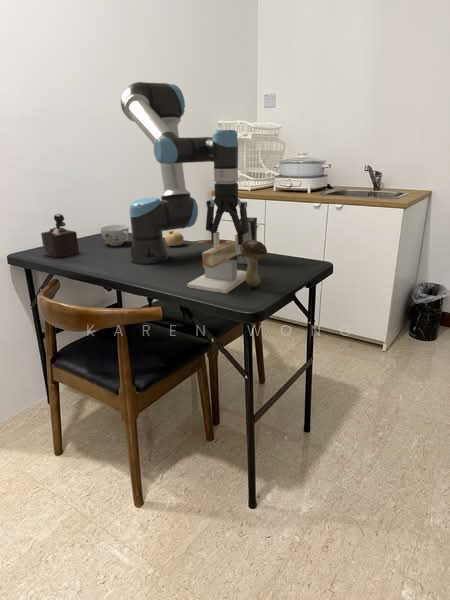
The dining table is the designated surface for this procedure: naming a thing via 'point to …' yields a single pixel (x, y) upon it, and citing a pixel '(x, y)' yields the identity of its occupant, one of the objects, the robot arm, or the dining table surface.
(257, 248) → the mushroom
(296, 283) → the dining table surface
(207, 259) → the beech bar
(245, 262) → the coffee box
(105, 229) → the teacup
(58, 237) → the brown coffee grinder
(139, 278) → the dining table surface
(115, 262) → the dining table surface
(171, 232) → the onion
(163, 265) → the dining table surface
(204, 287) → the fulcrum
